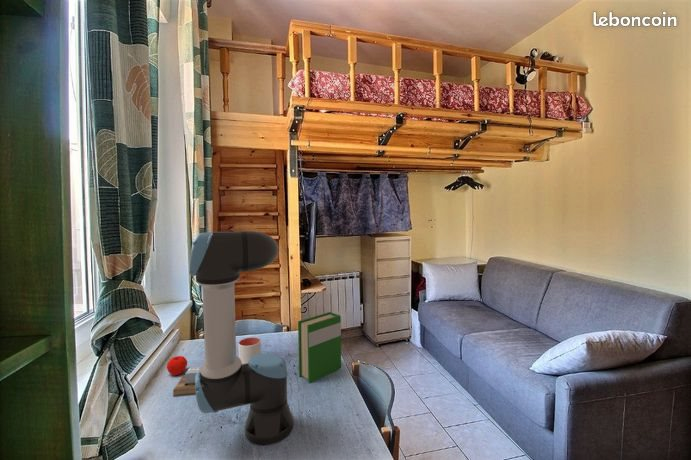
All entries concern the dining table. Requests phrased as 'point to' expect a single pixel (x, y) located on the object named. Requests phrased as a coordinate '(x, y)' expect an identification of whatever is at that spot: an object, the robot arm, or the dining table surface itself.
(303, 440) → the dining table surface
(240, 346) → the cup
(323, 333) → the hardback book
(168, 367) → the apple
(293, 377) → the dining table surface
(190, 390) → the key board
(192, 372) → the key three dots
